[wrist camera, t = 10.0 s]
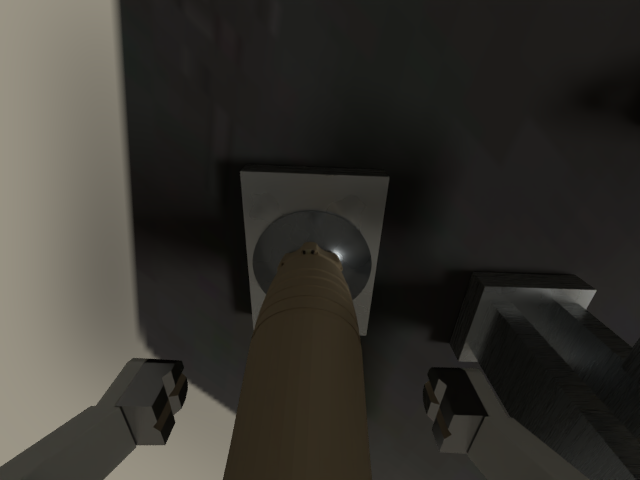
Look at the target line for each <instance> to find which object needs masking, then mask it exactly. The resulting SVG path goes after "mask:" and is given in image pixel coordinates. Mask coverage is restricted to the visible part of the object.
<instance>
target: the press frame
mask: <svg viewBox="0 0 640 480" xmlns="http://www.w3.org/2000/svg"><path fill="white" fill-rule="evenodd" d="M240 179H241V190H242V202H243V213H244V225H245V236H246V248H247V259H248V271H249V283H250V294H251V306H252V317H253V329H254V328H255V325H256V321H257V318H258V315H259V312H260V309H261V306H262V304H263V301H264V299H265V296H266V294H267V291H268V289H269V287H270V285H271V283H272V281H273V279H274V277H275V275H276V274H277V272H278V271H277V268H278V265H279V263H280V261H281V259H282V258H283V256H284V255H285V254H286V253H292V252H295V251H297V250H298V249H300V248H301V247H302V246H303V244H304V243H306V242H315V243H317V245H318V246H319V247H320V248H321V249H323V250H325V251H327V252H330V253H335V254H337V256H338V257H339V259H340V261H341V264H342V267H343V270H342V271H341V272H342V274H343V276H344V278H345V281H346V283H347V285H348V288H349V291H350V294H351V297H352V301H353V305H354V309H355V313H356V317H357V322H358V327H359V334H360V335H362V336H366V334H367V327H368V320H369V313H370V306H371V300H372V293H373V286H374V279H375V272H376V266H377V259H378V252H379V245H380V238H381V232H382V225H383V218H384V211H385V204H386V197H387V191H388V184H389V176H388V175H387V173H386V172H385V171H384V170H381V169H355V168H329V167H304V166H278V165H252V164H247V165H246V166H245V167H244V168H243V169H242V170H241V171H240ZM596 291H597V290H596V289H594V288H593V287H592V286H590V285H589V284H587V283H586V282H585V281H583V280H582V279H580V278H579V277H578V276H576V275H550V274H521V273H491V272H473V273H472V276H471V279H470V282H469V285H468V288H467V291H466V294H465V297H464V300H463V303H462V306H461V310H460V313H459V316H458V319H457V322H456V325H455V328H454V331H453V334H452V337H451V340H450V343H449V344H450V346H451V348H452V350H453V352H454V354H455V356H456V358H457V360H458V361H468V362H479V364H480V366H481V368H482V369H483V371H484V373H485V374H486V376H487V378H488V380H489V381H490V383H491V385H492V386H493V388H494V390H495V391H496V393H497V395H498V397H499V398H500V400H501V402H502V403H503V405H504V407H505V409H506V410H507V412H508V414H509V415H510V417H511V418H514V419H515V420H516V421H517V422H519V423H520V424H521V425H522V426H524V427H525V428H526V429H527V430H529V431H530V432H531V433H532V434H534V435H535V436H536V437H537V438H539V439H540V440H541V441H542V442H544V443H545V444H546V445H547V446H549V447H550V448H551V449H552V450H553V451H555V452H556V453H557V454H558V455H560V456H561V457H562V458H563V459H565V460H566V461H567V462H568V463H570V464H571V465H572V466H573V467H575V468H576V469H577V470H578V471H580V472H581V473H582V474H583V475H585V476H586V477H587V478H588V479H589V480H640V443H639V442H638V441H637V440H636V438H640V384H638V383H637V382H636V381H635V380H634V379H633V378H632V377H631V376H630V375H629V374H628V373H626V372H625V371H624V370H623V369H622V368H621V367H620V364H621V363H622V362H623V360H624V359H625V357H626V356H627V355H628V353H629V352H630V350H631V349H632V347H631V346H630V345H629V344H627V343H626V342H625V341H624V340H622V339H621V338H620V337H619V336H618V335H616V334H615V333H614V332H613V331H611V330H610V329H609V328H608V327H606V326H605V325H604V324H603V323H602V322H600V321H599V320H598V319H597V318H595V317H594V316H593V315H592V314H591V313H589V312H588V311H587V310H586V308H587V306H588V305H589V303H590V301H591V299H592V298H593V296H594V294H595V292H596Z"/></svg>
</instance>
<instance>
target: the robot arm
mask: <svg viewBox="0 0 640 480" xmlns="http://www.w3.org/2000/svg"><path fill="white" fill-rule="evenodd" d="M183 369H184V366H183V363H182V361H179V360H162V359H141V358H140V359H139V358H133V359H131V360H130V361H129V362H128V363H127V364H126V365H125V367H124V368H123V369H122V371H121V372H120V373H119V375H118V376H117V378H116V379H115V380H114V382H113V383H112V384H111V386H110V387H109V389H108V390H107V391H106V393H105V394H104V395H103V397H102V398H101V400H100V401H99V402H98V404H97V405H96V406H91V407H89V408H87V409H86V410H84V411H83V412H81V413H80V414H78V415H77V416H75V417H74V418H72V419H71V420H69V421H68V422H66V423H65V424H64V425H62V426H60V427H59V428H57V429H56V430H55V431H53V432H52V433H50V434H49V435H47V436H46V437H44V438H43V439H41V440H40V441H38V442H37V443H35V444H34V445H32V446H31V447H29V448H28V449H26V450H25V451H23V452H22V453H20V454H19V455H17V456H16V457H14V458H13V459H12V460H10V461H9V462H7V463H5V464H4V465H3V466H1V467H0V480H103V479H105V477H107V476H108V475H109V473H111V472H112V471H113V470H114V469H115V468H116V467H117V466H118V465H119V464H120V463H121V462H122V461H123V460H124V459H125V458H126V457H127V456H128V455H129V454H130V453H131V452H132V451H133V450H134V449H135V448H136V445H165V444H166V442H167V440H168V437H169V435H170V433H171V431H172V428H173V426H174V424H175V420H174V416H173V415H174V414H175V413H177V412H178V411H179V410H180V409H181V408H182V406H183V404H184V401H185V399H186V394H187V390H188V382H187V378H186V377H185V376H184V375H183V374H182V371H183ZM427 375H428V378H429V381H428V382H427V383H425V384H424V389H423V402H424V407H425V410H426V414H427V416H428V417H429V418H430V419H431V420H432V421H433V422H434V424H433V427H432V432H433V435H434V438H435V441H436V444H437V447H438V450H439V452H447V453H465V454H467V456H468V457H469V458H470V459H471V461H472V462H473V463H474V464H475V465H476V466H477V468H478V469H479V470H480V471H481V472H482V473H483V475H484V476H485V477H486V478H487V479H488V480H589V479H588V478H587V477H586V476H585V475H583V474H582V473H581V472H580V471H578V470H577V469H576V468H575V467H573V466H572V465H571V464H570V463H568V462H567V461H566V460H565V459H563V458H562V457H561V456H560V455H558V454H557V453H556V452H555V451H553V450H552V449H551V448H550V447H549V446H547V445H546V444H545V443H544V442H542V441H541V440H540V439H539V438H537V437H536V436H535V435H534V434H532V433H531V432H530V431H529V430H527V429H526V428H525V427H524V426H522V425H521V424H520V423H519V422H517V421H516V420H515V419H514V418H509V417H507V415H506V413H505V412H504V410H503V408H502V407H501V405H500V403H499V401H498V400H497V398H496V396H495V395H494V393H493V391H492V390H491V388H490V386H489V384H488V383H487V381H486V379H485V378H484V376H483V374H482V372H481V371H480V370H479V369H475V368H445V367H431V368H430V369H429V371H428V374H427Z"/></svg>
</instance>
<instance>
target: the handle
mask: <svg viewBox="0 0 640 480" xmlns="http://www.w3.org/2000/svg"><path fill="white" fill-rule="evenodd" d="M342 270H343V267H342V264H341V261H340V259H339V257H338V256H337V254H335V253H330V252H327V251H325V250H323V249H321V248H320V247H319V246H318V245H317V243H315V242H306V243H304V244H303V246H302V247H301V248H300V249H298V250H297V251H295V252H292V253H286V254H285V255H284V256H283V258H282V259H281V261H280V263H279V265H278V268H277V271H278V272H277V274H276V275H275V277H274V279H273V281H272V283H271V285H270V287H269V289H268V291H267V294H266V296H265V299H264V301H263V304H262V306H261V309H260V312H259V315H258V318H257V321H256V325H255V328H254V332H253V335H252V340H251V343H250V348H249V353H248V358H247V363H246V368H245V373H244V378H243V383H242V389H241V394H240V399H239V404H238V409H237V414H236V419H235V424H234V429H233V435H232V440H231V445H230V449H229V454H228V459H227V463H226V468H225V472H224V477H223V480H372V475H371V464H370V453H369V440H368V427H367V413H366V400H365V386H364V373H363V360H362V348H361V341H360V334H359V327H358V322H357V317H356V313H355V309H354V305H353V301H352V297H351V294H350V291H349V288H348V285H347V283H346V281H345V278H344V276H343V274H342V272H341V271H342Z"/></svg>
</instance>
